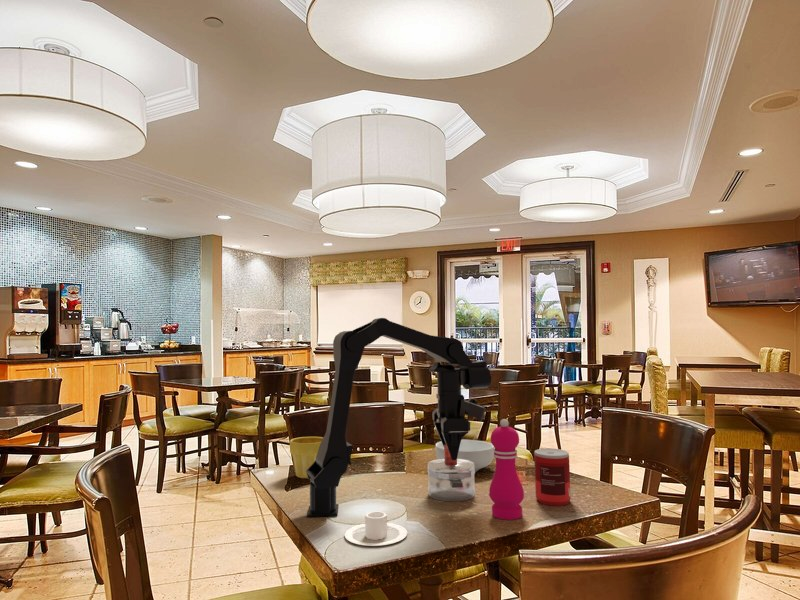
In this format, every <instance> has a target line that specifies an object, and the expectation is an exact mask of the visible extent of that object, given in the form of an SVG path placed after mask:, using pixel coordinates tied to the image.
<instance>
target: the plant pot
mask: <svg viewBox="0 0 800 600" xmlns="http://www.w3.org/2000/svg"><path fill="white" fill-rule="evenodd" d="M323 438H324V436H323V437H322V436H301V437H295V438H291V439H290V440H289V453H290V454H291V455H292V461H293V466H294V471H295V472H294V473H295V476H296V477H297V478H300V479H308V476H307V473H306V470H307V469H308V468H309V467H310V466H311V465H312V464H313V463H314V461H315V460H316V456H317V453H318V450H319V447H320V444H321V442H322V440H323Z"/></svg>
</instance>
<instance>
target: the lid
mask: <svg viewBox="0 0 800 600" xmlns="http://www.w3.org/2000/svg"><path fill="white" fill-rule="evenodd" d="M444 457H445V459H437V458H436V459H433V460H430V461H428V462H427V471H428V470H430V471H432V472H436V473H442V474H461V473H467V472H471V471H473V470H474V463H473V462H472V461H469V460H464V459H457V460H452V459H451V456H450V453H449V451H448V448H447V445H446V444H444Z"/></svg>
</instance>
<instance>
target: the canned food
mask: <svg viewBox="0 0 800 600" xmlns="http://www.w3.org/2000/svg"><path fill="white" fill-rule="evenodd" d="M569 454H570V453H569V452H568V451H567V450H564V449H562V448H561V449H559V448H553V447H552V448H546V447H545V448H544V447H543V448H539V449H535V450H534V458H533V460H534V481H535V482H534V483H535V484H534V485H535V486H534V487H535V498H536V500H537V501H538V502H537V503H540V504H543V505H545V506H552V507H553V506H556V507H561V506H567V505H568V504H570V501H571V473H570V471H571V470H570V455H569Z"/></svg>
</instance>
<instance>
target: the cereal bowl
mask: <svg viewBox="0 0 800 600" xmlns="http://www.w3.org/2000/svg"><path fill="white" fill-rule="evenodd" d="M434 449H435V456H436V460H437V459H445V457H444V446H443V444H442V441H441V440H440V441H437V442H436V443H435V448H434ZM494 449H495V447H494V446H493V445H492V443H491V442H489V441H488V442H487V441H482V440H476V439H461V443H460V447H459V452H458V456H457V459H464V460H469V461H472V462H473V463H474V468H475V473H476V472H478V471H479V470H481V469H483V468H486V467H487V466H489V465H490V464H491V463H492V461H493V459H494V458H495V457H494V456H493V454H494V452H493V450H494Z"/></svg>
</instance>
